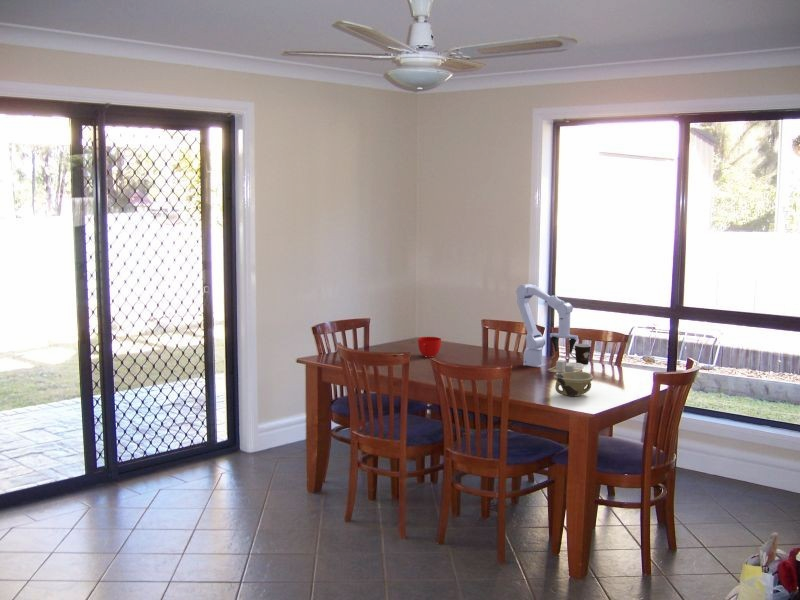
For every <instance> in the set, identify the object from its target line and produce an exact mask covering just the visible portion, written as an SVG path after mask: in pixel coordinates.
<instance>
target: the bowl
mask: <svg viewBox="0 0 800 600" xmlns="http://www.w3.org/2000/svg"><path fill="white" fill-rule="evenodd" d="M593 378H594V376H593V374H591V373H590V372H586V371H582V372H565V373H556V374H554V375H553V379H554V380H555V381H556V382H555V385H554V387H555V391H556V392H557V393H559V394H560V395H562V396H564V395H565V396H566V397H579V396H581V395H584V394H587V393H588V392H589V391H590V390H591V388H592V383H591V382H592V381H593ZM560 387H561V389H562V390H561V389H560Z"/></svg>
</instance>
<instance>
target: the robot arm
mask: <svg viewBox="0 0 800 600" xmlns="http://www.w3.org/2000/svg"><path fill="white" fill-rule="evenodd" d="M515 292H516V295H517V296H516V297H517V298H516V300H517V301H516V303H517V305H518V309H519V311H520V315H521V319H522V320H523V324H524V326H525V329H526V332H527V334H526V336H525V340H526V342H525V345H526V348H525V349H524V352H523V364H522V365H523V366H527V367H528V366H529V367H536V368H540V367H543V366H545V365H546V364H545V363H543V349H544V346H545V345H546V339H545V337H544V336H543V335H542V332H541V331H539V330H538V328H537V325H536V321H535V319H534V316H533V312H532V309H531V306H530V304H529V301H530V299H531V298H533V296H535V297H538V298H540V299H542V300H544V301H545V302H546V304H547V305H548V306H549V307H550V308H553V309H554V310H556V311H557V313H558V332H551V333H549V338H551V339H550V340H551V342H552V344H553V347H554V352H555V353H556V352H558V351H559V341H560V340H559V339H569V340H568V344H569V347H568V352H569V354H570V353H571V354H572V352H573V351H574V349H573V348H575V344H576V342H577V340H579V335H577V334H576V335H575V334H570V333H571V313H572V312H573V309H574V307H573V304H571V303H570V302H565V300H562V299H560V298H558V296H557V295H549V294H548V293H546V292H545V290H543V289H541V288H540V287H538V285H535V284H534V283H533V282H532V283H531V282H530V283H526V284H525V283H524V284H519V285H518V286H517V288H516V290H515Z"/></svg>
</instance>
